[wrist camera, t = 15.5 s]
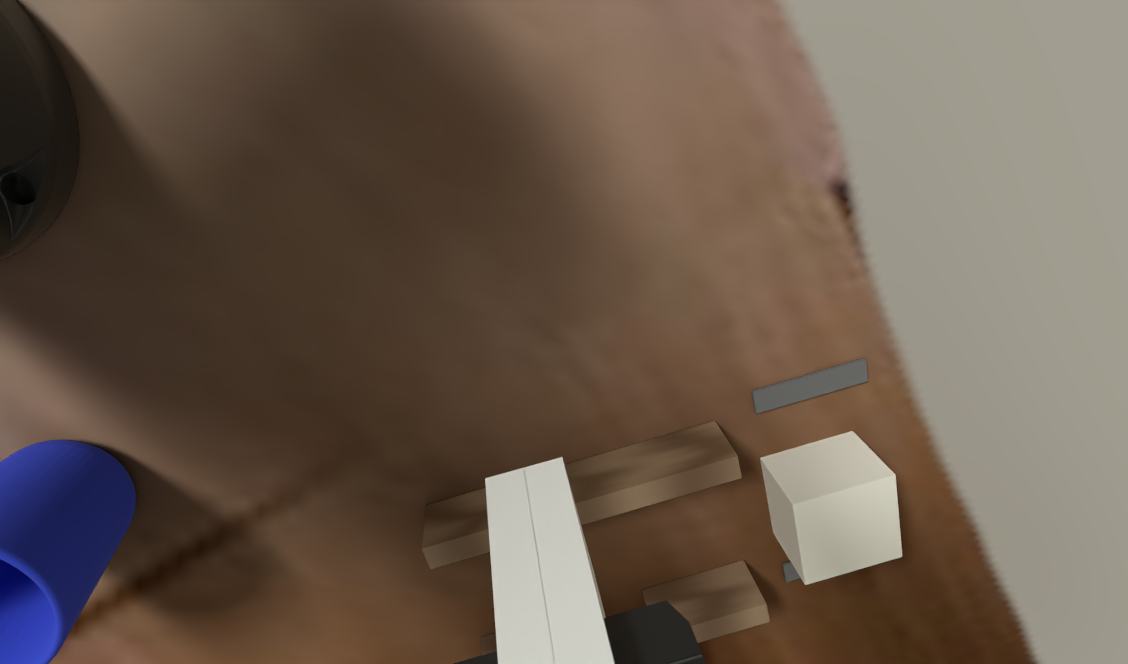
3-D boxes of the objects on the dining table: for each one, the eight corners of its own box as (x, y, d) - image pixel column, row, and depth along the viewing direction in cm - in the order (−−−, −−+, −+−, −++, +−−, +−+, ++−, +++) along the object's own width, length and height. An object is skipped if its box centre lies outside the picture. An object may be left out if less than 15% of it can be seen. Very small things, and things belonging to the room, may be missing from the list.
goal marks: (785, 580, 48) (786, 582, 48) (751, 391, 42) (752, 392, 42) (884, 551, 48) (885, 553, 48) (864, 357, 42) (866, 359, 42)
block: (772, 531, 47) (805, 585, 42) (759, 456, 44) (792, 504, 40) (860, 506, 47) (902, 556, 42) (851, 429, 44) (895, 474, 40)
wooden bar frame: (511, 709, 50) (514, 763, 46) (426, 505, 43) (421, 548, 39) (759, 636, 50) (781, 683, 46) (714, 420, 43) (737, 455, 39)
